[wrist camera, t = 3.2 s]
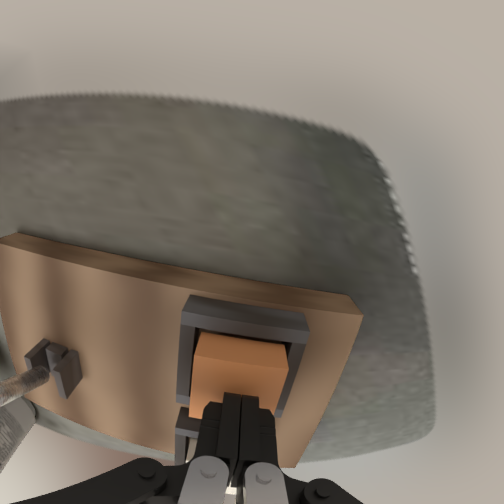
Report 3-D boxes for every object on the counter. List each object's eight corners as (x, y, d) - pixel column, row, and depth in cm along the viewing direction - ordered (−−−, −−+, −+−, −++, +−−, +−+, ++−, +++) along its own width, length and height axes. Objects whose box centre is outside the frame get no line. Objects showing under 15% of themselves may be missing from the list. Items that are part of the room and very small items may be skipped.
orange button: (194, 391, 14) (188, 416, 12) (201, 331, 13) (194, 355, 11) (267, 402, 14) (268, 428, 12) (284, 344, 13) (288, 369, 11)
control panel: (39, 380, 21) (11, 413, 15) (16, 232, 17) (-33, 249, 11) (291, 442, 22) (297, 491, 16) (348, 295, 18) (381, 338, 13)
